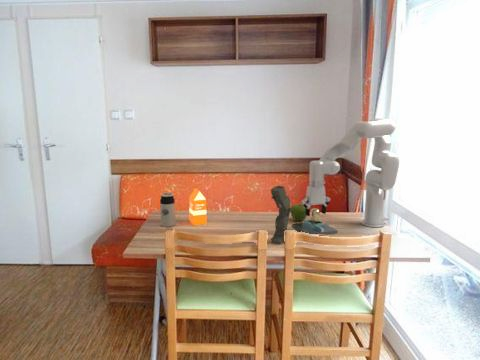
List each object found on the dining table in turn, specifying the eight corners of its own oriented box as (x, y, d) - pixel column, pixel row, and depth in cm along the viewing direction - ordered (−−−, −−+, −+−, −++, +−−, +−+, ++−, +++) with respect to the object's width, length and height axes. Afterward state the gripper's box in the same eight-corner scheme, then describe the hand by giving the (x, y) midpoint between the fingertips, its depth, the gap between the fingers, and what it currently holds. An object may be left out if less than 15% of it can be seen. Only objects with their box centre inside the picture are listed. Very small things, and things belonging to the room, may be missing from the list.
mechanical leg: (284, 232, 191) (278, 180, 180) (296, 235, 186) (290, 182, 175) (270, 245, 181) (262, 191, 170) (282, 249, 177) (275, 194, 166)
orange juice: (193, 225, 204) (193, 191, 200) (189, 221, 212) (188, 188, 208) (206, 224, 208) (206, 190, 204) (202, 219, 215) (201, 187, 212)
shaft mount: (319, 223, 209) (320, 215, 209) (337, 233, 193) (338, 225, 192) (291, 226, 204) (292, 218, 203) (307, 236, 187) (307, 228, 186)
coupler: (315, 225, 201) (316, 207, 199) (320, 228, 196) (321, 210, 194) (308, 225, 200) (309, 208, 198) (313, 228, 195) (314, 210, 193)
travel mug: (167, 222, 211) (165, 192, 207) (178, 224, 207) (177, 193, 204) (158, 226, 204) (156, 195, 200) (169, 228, 200) (168, 196, 197)
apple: (305, 217, 220) (306, 201, 218) (309, 222, 210) (310, 206, 208) (288, 217, 220) (288, 201, 218) (291, 223, 210) (291, 206, 208)
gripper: (326, 181, 199) (325, 210, 203) (298, 183, 194) (298, 214, 198) (334, 183, 192) (333, 214, 196) (305, 186, 187) (304, 218, 191)
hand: (315, 214), depth 197 cm, fingers open, 9 cm apart
